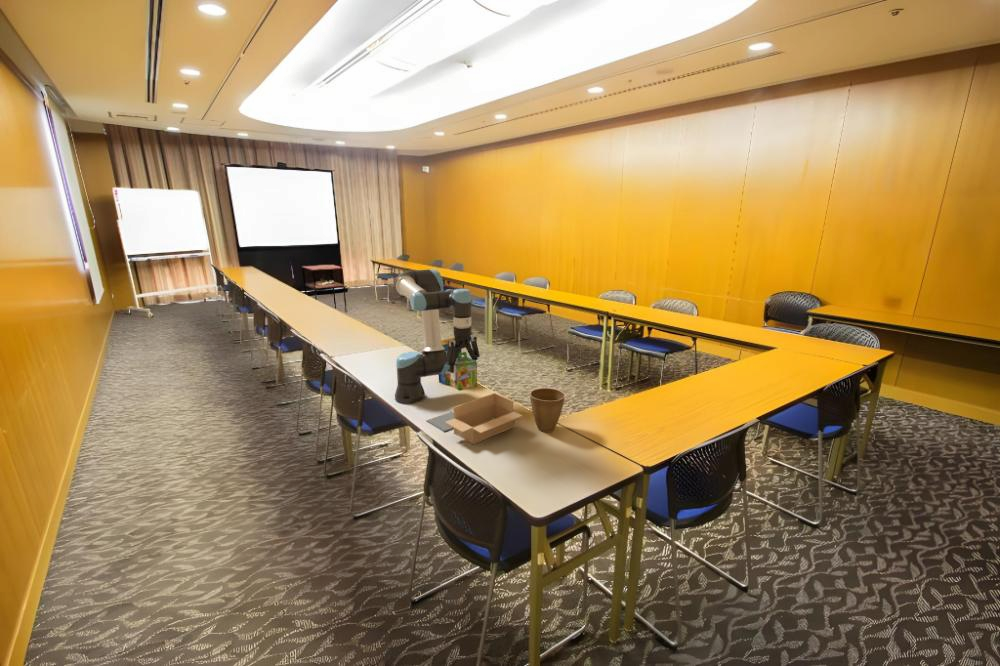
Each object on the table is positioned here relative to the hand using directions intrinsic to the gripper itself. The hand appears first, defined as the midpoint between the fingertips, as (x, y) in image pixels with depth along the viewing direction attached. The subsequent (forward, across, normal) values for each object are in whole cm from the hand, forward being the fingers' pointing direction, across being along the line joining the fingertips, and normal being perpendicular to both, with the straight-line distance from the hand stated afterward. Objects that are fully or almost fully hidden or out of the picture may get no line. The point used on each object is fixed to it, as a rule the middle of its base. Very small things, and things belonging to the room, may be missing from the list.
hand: (463, 376), depth 188 cm
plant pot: (+22, +24, -28) cm, 43 cm away
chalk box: (+5, 0, 0) cm, 5 cm away
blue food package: (+24, +29, +48) cm, 61 cm away
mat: (+23, -4, +7) cm, 24 cm away
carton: (+22, +1, -13) cm, 26 cm away
